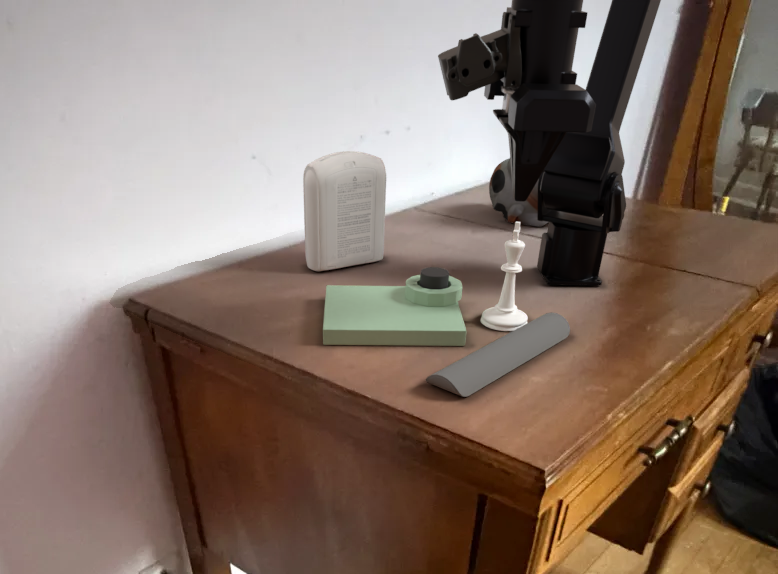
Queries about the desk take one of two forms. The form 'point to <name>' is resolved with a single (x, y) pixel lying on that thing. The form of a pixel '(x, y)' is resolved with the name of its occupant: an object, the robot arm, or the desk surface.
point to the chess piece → (508, 291)
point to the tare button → (434, 278)
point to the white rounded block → (344, 210)
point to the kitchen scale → (394, 315)
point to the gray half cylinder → (501, 355)
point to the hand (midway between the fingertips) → (519, 200)
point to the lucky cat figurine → (506, 203)
